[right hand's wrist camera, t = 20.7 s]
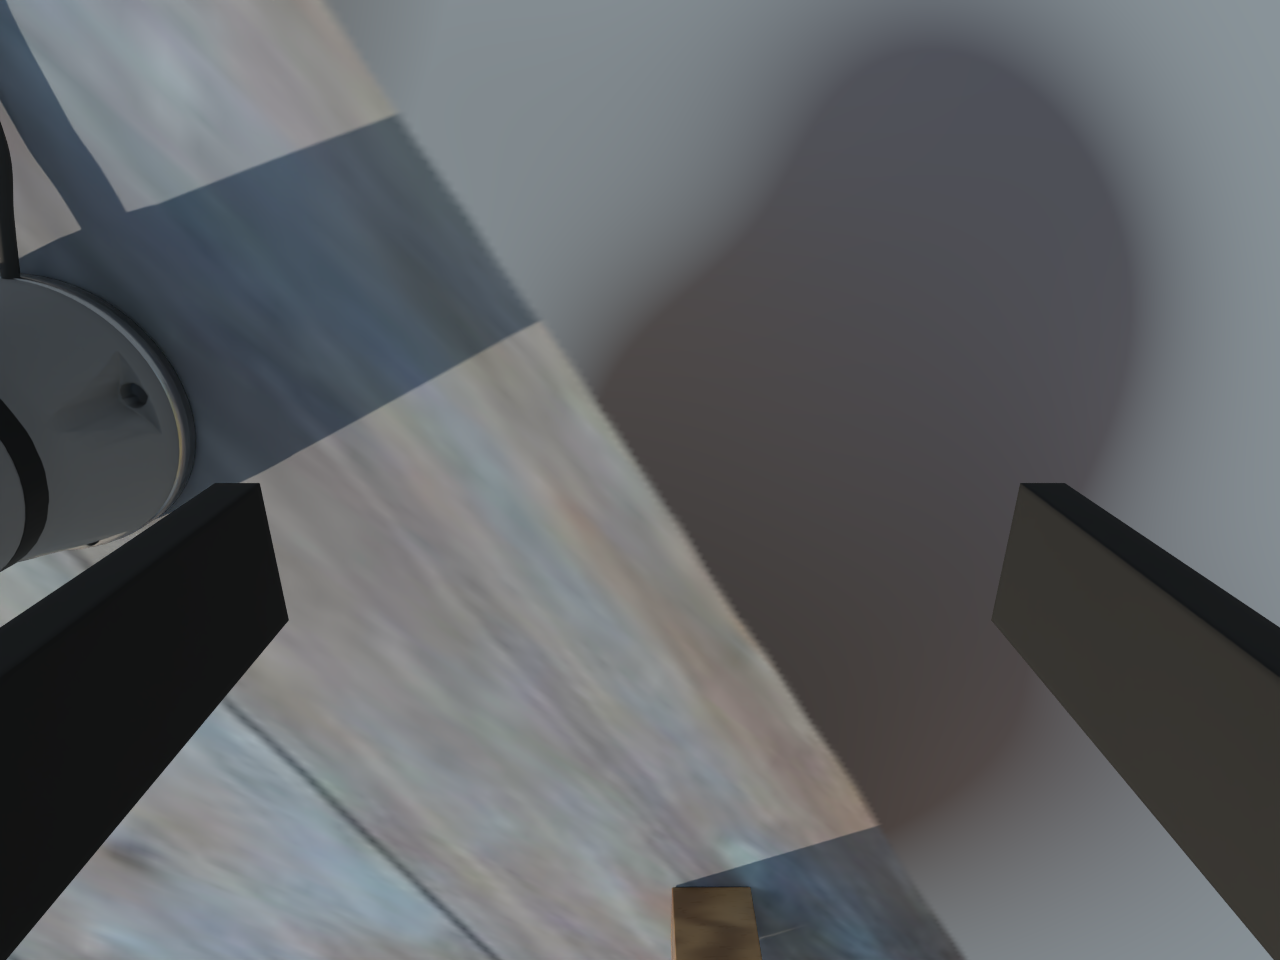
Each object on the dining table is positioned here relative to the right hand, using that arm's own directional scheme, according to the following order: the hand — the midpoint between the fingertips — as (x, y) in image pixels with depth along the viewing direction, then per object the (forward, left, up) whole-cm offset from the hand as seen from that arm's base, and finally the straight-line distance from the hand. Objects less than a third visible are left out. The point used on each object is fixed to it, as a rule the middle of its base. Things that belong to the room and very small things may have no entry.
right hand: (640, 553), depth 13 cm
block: (+37, +28, -28) cm, 54 cm away
